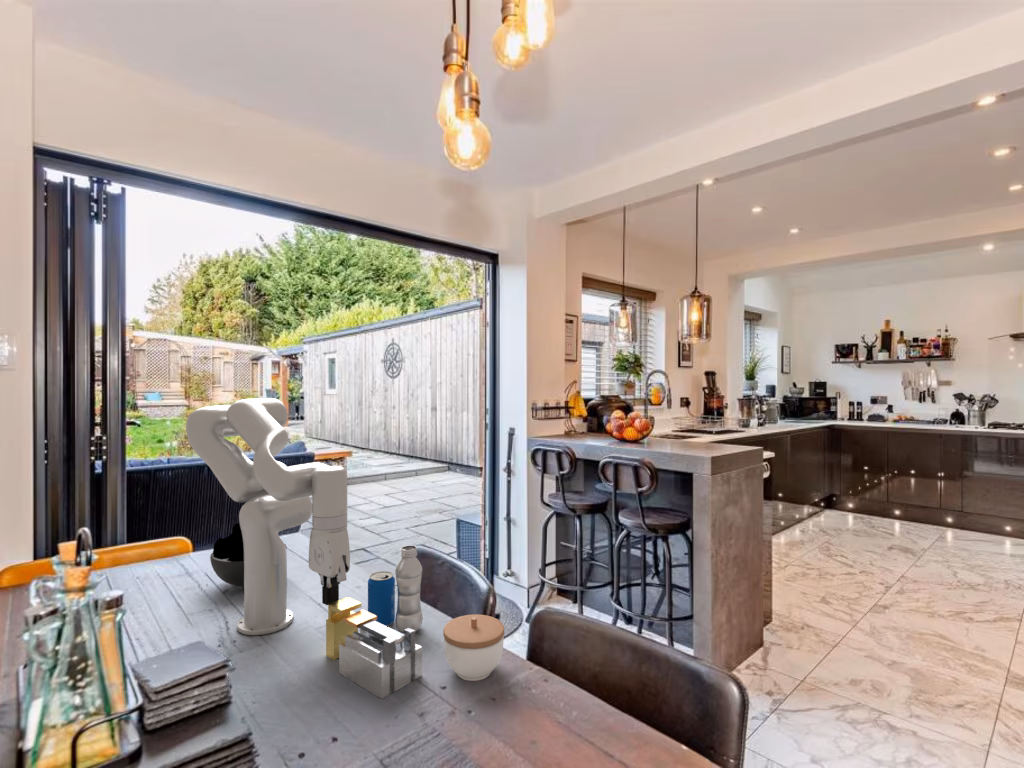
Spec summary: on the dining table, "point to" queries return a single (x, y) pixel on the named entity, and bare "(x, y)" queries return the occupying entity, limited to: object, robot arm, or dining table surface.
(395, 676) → the heatsink
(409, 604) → the plastic bottle
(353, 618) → the strap
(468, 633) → the lidded bowl
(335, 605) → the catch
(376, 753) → the dining table surface
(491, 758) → the dining table surface
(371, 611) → the beverage can
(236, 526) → the bowl of black rocks
